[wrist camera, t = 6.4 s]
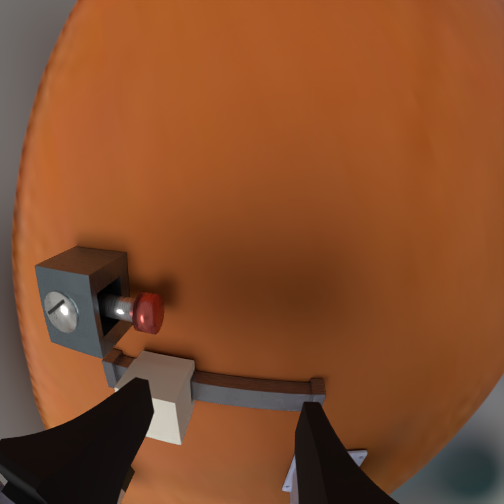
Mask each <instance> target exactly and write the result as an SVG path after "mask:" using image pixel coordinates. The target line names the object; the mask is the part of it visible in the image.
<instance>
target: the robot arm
mask: <svg viewBox="0 0 504 504" xmlns="http://www.w3.org/2000/svg"><path fill="white" fill-rule="evenodd" d="M153 415H154V407H153V402H152V397H151V391H150V386H149V380H146V379H142V378H138V377H135V378H133V379H132V380H131V381H129V382H128V383H127V384H125V385H124V386H123V387H121V388H120V389H119V390H118V391H116V392H115V393H114V394H112V395H111V396H109V397H108V398H107V399H105V400H104V401H102V402H101V403H99V404H98V405H96V406H95V407H93V408H92V409H90V410H88V411H87V412H85V413H84V414H82V415H80V416H78V417H76V418H75V419H73V420H70V421H68V422H66V423H64V424H62V425H59V426H56V427H54V428H51V429H48V430H45V431H42V432H39V433H35V434H31V435H26V436H21V437H14V438H5V439H1V440H0V473H1V474H2V475H3V476H4V478H5V479H6V480H7V481H8V482H7V484H6V485H5V486H4V485H3V484H2V482H1V481H0V504H117V502H118V499H119V496H120V492H121V489H122V486H123V483H124V480H125V477H126V475H127V472H128V470H129V468H130V466H131V464H132V462H133V460H134V458H135V456H136V454H137V452H138V450H139V448H140V446H141V444H142V442H143V440H144V438H145V436H146V434H147V432H148V430H149V427H150V424H151V421H152V418H153ZM366 456H367V451H366V450H359V451H347V450H346V449H345V447H344V446H343V444H342V443H341V441H340V439H339V438H338V436H337V435H336V433H335V431H334V429H333V428H332V426H331V424H330V422H329V420H328V418H327V416H326V414H325V412H324V410H323V408H322V406H321V404H320V403H319V402H305V401H304V403H303V406H302V410H301V414H300V417H299V421H298V424H297V428H296V431H295V455H294V457H293V460H292V463H291V466H290V469H289V471H288V474H287V477H286V479H285V482H284V485H283V487H282V490H283V491H290V504H399V503H397V502H396V501H395V500H393V499H392V498H391V497H390V496H388V495H387V494H386V493H385V492H384V491H383V490H381V489H380V488H379V487H378V486H377V485H376V484H375V483H374V482H373V481H372V480H371V479H370V478H369V477H368V476H367V475H366V474H365V473H364V472H363V471H362V470H361V468H360V467H359V466H360V465H361V463H362V462H363V460H364V459H365V457H366Z"/></svg>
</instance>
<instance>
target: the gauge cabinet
mask: <svg viewBox="0 0 504 504" xmlns="http://www.w3.org/2000/svg"><path fill="white" fill-rule="evenodd" d="M35 271H36V277H37V283H38V288H39V293H40V298H41V303H42V308H43V312H44V316H45V321H46V325H47V328H48V332H49V336H50V339H51V342H53V343H56V344H59V345H61V346H64V347H67V348H70V349H73V350H76V351H79V352H82V353H85V354H88V355H92V356H95V357H98V358H102V359H104V357H105V356H106V355H107V354H108V353H109V352H110V350H111V349H112V348H113V347H114V346H115V345H116V343H117V342H118V341H119V340H120V339H121V338H122V336H123V335H124V334H125V333H126V332H127V331H128V330H129V328H130V327H131V326H132V325H133V322H129V321H124V320H119V319H114V318H110V317H105V316H101V315H100V314H99V307H98V299H99V297H100V295H101V294H102V293H108V294H113V295H118V296H124V297H130V294H129V282H128V268H127V252H118V251H109V250H101V249H92V248H84V247H73V248H71V249H69V250H67V251H64V252H62V253H60V254H58V255H56V256H54V257H52V258H49V259H47V260H45V261H43V262H41V263H39V264H37V265H35Z"/></svg>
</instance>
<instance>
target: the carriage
mask: <svg viewBox="0 0 504 504" xmlns="http://www.w3.org/2000/svg"><path fill="white" fill-rule="evenodd" d="M194 370H195V365H194V360H188V359H183V358H177V357H172V356H166V355H161V354H156V353H152V352H147V351H141V353H140V354H139V356H138V357H137V358H136V359H134V360H133V362H132V363H131V364H130V366H129V367H128V369H127V370H126V372H125V373H124V374H123V376H122V377H121V379H120V380H119V382H118V383H117V384H116V386H115V387H114V388H115V392H116V391H118V390H119V389H120V388H121V387H123V386H124V385H125V384H127V383H128V382H129V381H131V380H132V379H133V378H135V377H138V378H142V379H146V380H149V386H150V391H151V397H152V402H153V407H154V415H153V418H152V421H151V424H150V427H149V430H148V432H147V434H146V437H150V438H154V439H157V440H161V441H165V442H170V443H174V444H178V445H182V442H183V439H184V436H185V433H186V430H187V427H188V424H189V422H190V419H191V416H192V411H193V408H194V405H195V402H196V400H194V399H191V389H190V379H191V377H192V374H193V372H194Z"/></svg>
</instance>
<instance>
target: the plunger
mask: <svg viewBox="0 0 504 504" xmlns="http://www.w3.org/2000/svg"><path fill="white" fill-rule="evenodd" d="M98 307H99V314H100V315H101V316H105V317H110V318H114V319H119V320H124V321H129V322H133V326H134V328H135V330H137V331H140V332H145V333H150V334H157V333H158V332H159V330H160V329H161V326H162V323H163V318H164V300H163V297H162V296H161V295H159V294H152V293H146V292H141V293H139V294H138V296H137V297H136V298H130V297H124V296H118V295H113V294H108V293H102V294H101V295H100V297H99V299H98Z"/></svg>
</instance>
